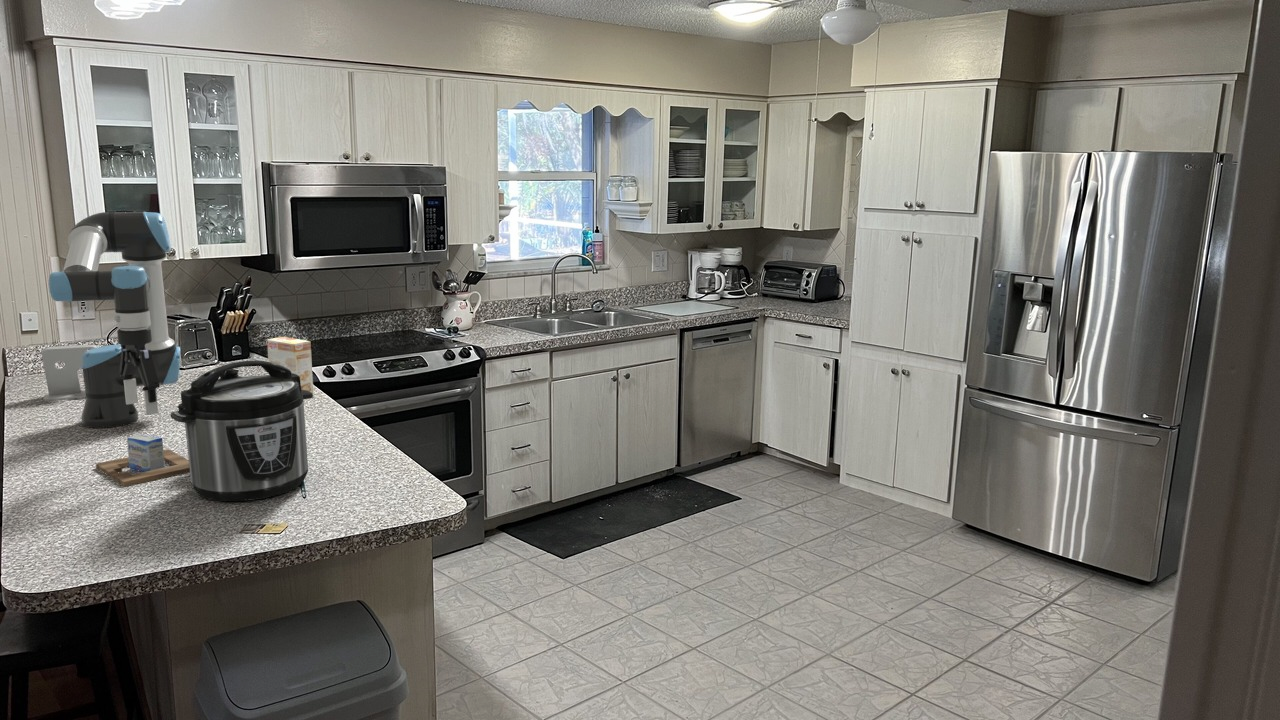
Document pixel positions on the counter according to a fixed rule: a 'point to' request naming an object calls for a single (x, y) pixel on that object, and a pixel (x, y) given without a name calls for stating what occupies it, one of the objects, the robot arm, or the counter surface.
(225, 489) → the pressure cooker
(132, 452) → the medicine box
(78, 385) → the phone holder
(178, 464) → the walnut pocket plate
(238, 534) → the counter surface
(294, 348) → the coffeecake box
